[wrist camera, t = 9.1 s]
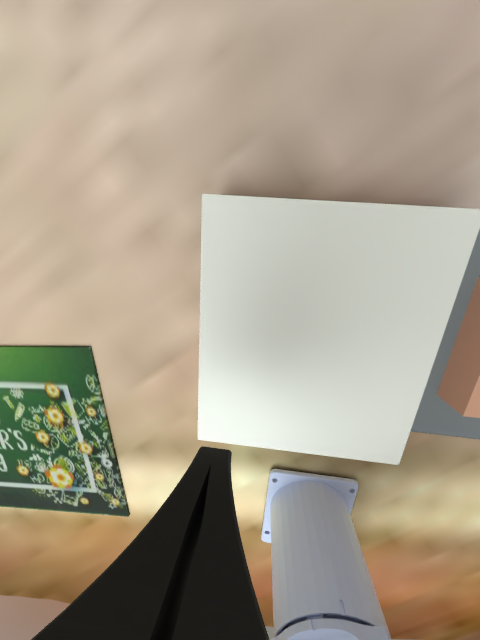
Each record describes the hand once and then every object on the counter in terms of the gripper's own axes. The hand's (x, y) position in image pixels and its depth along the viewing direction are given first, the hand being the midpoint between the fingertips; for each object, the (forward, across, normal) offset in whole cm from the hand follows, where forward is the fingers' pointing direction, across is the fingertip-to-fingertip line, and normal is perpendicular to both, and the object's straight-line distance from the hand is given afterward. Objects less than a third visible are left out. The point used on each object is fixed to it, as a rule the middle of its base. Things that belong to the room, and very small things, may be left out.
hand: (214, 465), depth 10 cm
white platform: (+9, -5, -4) cm, 11 cm away
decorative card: (+10, +28, +11) cm, 32 cm away
